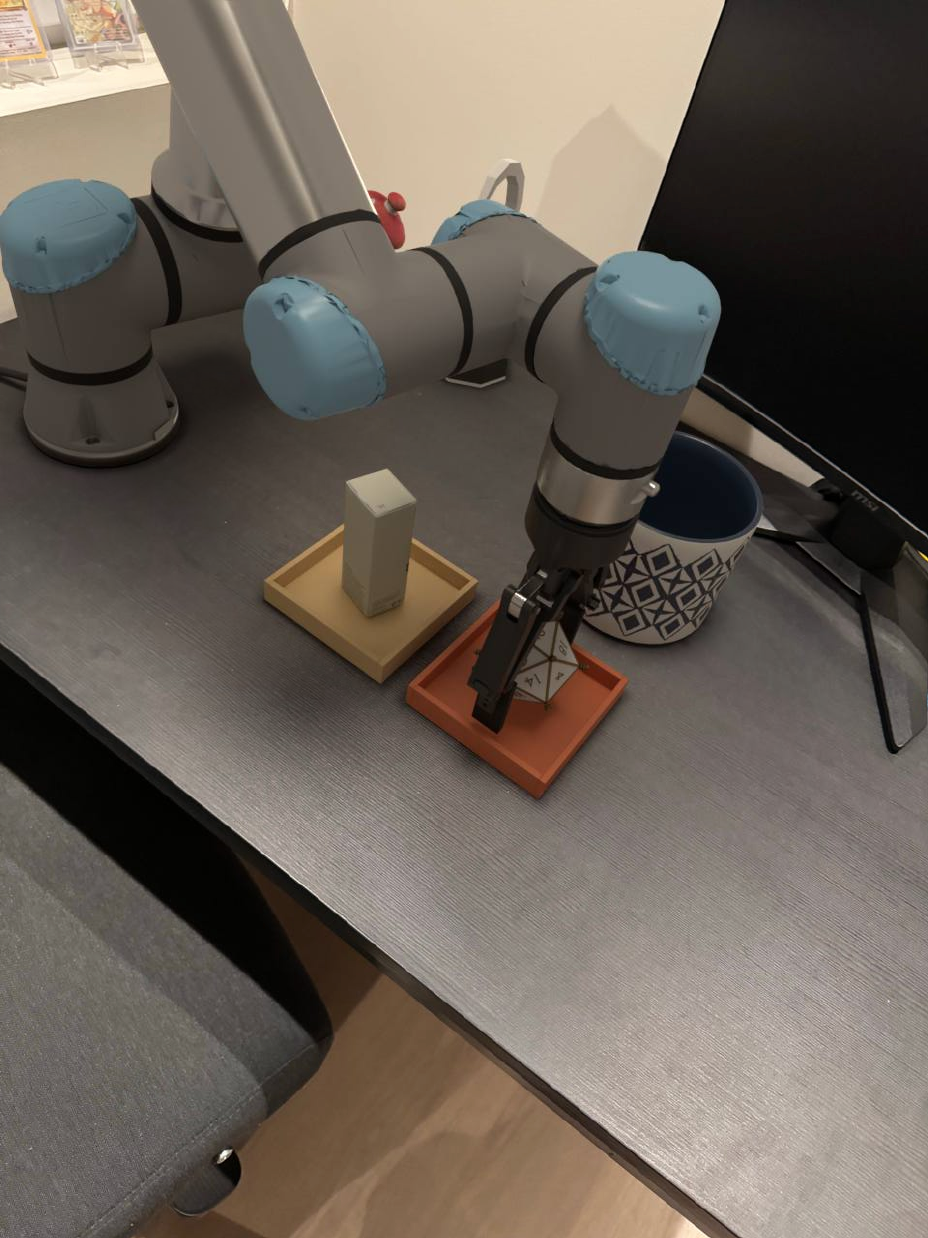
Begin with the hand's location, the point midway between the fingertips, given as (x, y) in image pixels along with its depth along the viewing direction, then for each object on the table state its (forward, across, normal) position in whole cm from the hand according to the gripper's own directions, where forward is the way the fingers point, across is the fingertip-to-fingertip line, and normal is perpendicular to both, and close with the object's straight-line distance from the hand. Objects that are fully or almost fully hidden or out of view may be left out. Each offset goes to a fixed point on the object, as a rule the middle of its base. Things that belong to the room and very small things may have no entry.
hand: (520, 685), depth 74 cm
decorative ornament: (+2, +42, +54) cm, 68 cm away
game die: (0, 0, 0) cm, 0 cm away
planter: (+2, +20, -1) cm, 20 cm away
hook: (+2, +40, +35) cm, 53 cm away
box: (+2, 0, +17) cm, 17 cm away
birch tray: (+2, 0, +17) cm, 17 cm away
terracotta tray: (+2, 0, 0) cm, 2 cm away
